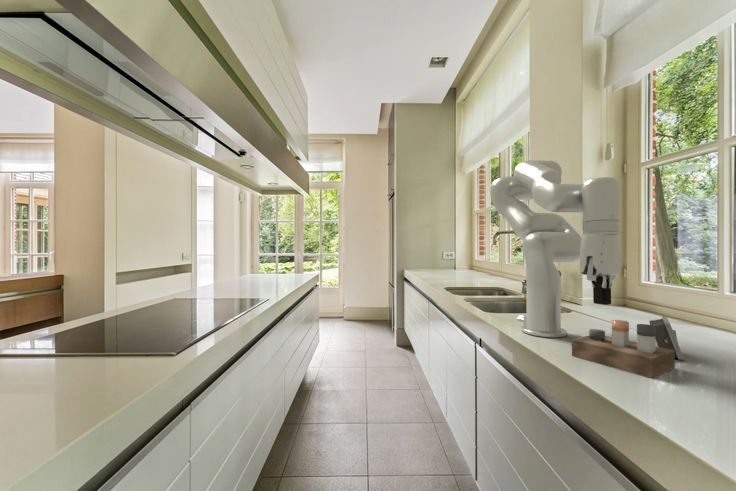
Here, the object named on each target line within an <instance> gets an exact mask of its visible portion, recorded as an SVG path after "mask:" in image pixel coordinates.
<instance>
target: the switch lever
mask: <svg viewBox="0 0 736 491" xmlns="http://www.w3.org/2000/svg"><path fill="white" fill-rule="evenodd" d="M588 330H589V331H588V334H589V335H588V336H589V339H590V340H595V341H599V342H602V341H605V336H606V331H605V330H602V329H599V328H597V329H596V328H589V329H588Z"/></svg>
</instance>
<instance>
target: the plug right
mask: <svg viewBox="0 0 736 491" xmlns="http://www.w3.org/2000/svg"><path fill="white" fill-rule="evenodd" d="M655 336H656V327H655V326H653V325H650V324H648V323H647V324H646V323H637V324H636V342H637V350H638V351H643V352H647V353H651V354H652V353H654V352H655V346H656V340H655Z"/></svg>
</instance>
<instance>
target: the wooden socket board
mask: <svg viewBox="0 0 736 491" xmlns="http://www.w3.org/2000/svg"><path fill="white" fill-rule="evenodd" d="M571 356H572V357H575V358H578V359H583V360H585V361H589V362H593V363H595V364H599V365H604V366H607V367H610V368H614V369H618V370H622V371H625V372H628V373H632V374H635V373H636V375H640V376H642V375H643V376H642V377H646V376H647V377H646V378H649V379H653V378H655V377H657V376H661V375H663V374H664V372H665V373H667V372H670V371H672V370H674V369H675V359H676V357H675V350H670V349H665V348H661V347H658V346H656V345H655V352H654V353H652V354H651V353H647V352H643V351H638V350H637V341H632V340H629V346H627V347H621V346H616V345H612V336H608V335H605V341H602V342H599V341H595V340H590V339H589V335H585V336H581V337H577V338H572V339H571ZM662 373H663V374H662Z"/></svg>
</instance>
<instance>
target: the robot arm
mask: <svg viewBox="0 0 736 491" xmlns="http://www.w3.org/2000/svg"><path fill="white" fill-rule="evenodd" d="M562 170H563V169H562V167H561V165H560V164H559V163H557V161H555V160H554V161H553V160H540V159H539V160H536V159H534V160H533V159H530V160H523V161H522V162H519V163H518V164H517V165H516V166H515V168H514V171H513V175H512V176H510V175H509V176H506V175H505V176H501V177H497V178H496V179H494V180H493V182H492V183H491V185H490V189H489V190H490V191H489V192H490V193H489V194H490V200H491V202H492V205H493V206H494V208H495V209H496V211H497V212H498V213H499V214H500V215H502V217H503V218H504V219H505V221H507V222H506V223H507V224H508V225H509V226H510V228H511V229H512V230H513V232H514V233H515V235H516V236H517V237H518V238H519V239H521V240H523V241H522V252H523V256H524V261H525V262H524V263H525V270H526V271H525V274H526V276H525V277H526V278H525V279H526V281H525V282H526V284H525V285H526V315H525V314H524V315H523V314H519V315H518V317H517V318H516V321H517V322H521V323H523V325H521V327H520V328H521V329H520V330H521V331H522V332H523V333H525V334H527V335H531V336H536V337H543V338H563V337H566V336H567V333H568V331H567V330H566V329H564V328H563V327H562V314H561V313H562V305H561V304H562V302H561V301H562V297H561V296H562V295H561V294H562V292H561V291H562V290H561V286H562V284H561V283H562V282H561V274H560V272H559V270H558V268H557V267H556V266H555V264H554V263H569V262H572V263H573V262H576V261H578V260H579V273H580V274H581V275H584V276H586V280H587V281H590V282H591V288H592V291H593V292H592V295H593V297H592V300H593V304H597V305H603V306H605V305H606V306H609V305H611V304H612V287H613V281H614V280H615V279H617V275H618V274H619V273H621V269H622V267H621V266H622V264H621V263H622V262H621V250H620V249H621V246H620V241H619V240H620V239H619V235H621V227H620V226H621V222H620V220H621V218H620V216H621V214H620V184H619V181H618V179H617V178H615V177H611V176H604V177H595V178H591V179H590V178H589V179H587V180H585V181H584V182H583V183H581V184H580V183H562V173H563V171H562ZM522 200H527V201H528V200H533V202H534V203H535V204H536V205H538V206H539V207H541V208H543V209H544V210H545V211H549V212H535V211H533V210H531V208H530V207H529V206H528V205H527V204H526V203H525V202H524V201H522ZM552 212H553V213H552ZM557 213H581V215H582V216H581V218H582V219H581V220H582V223H581V224H582V235H580V234H579V233H578V231H577V230H576V229H575V228H574V227H573V226H572V225H571V224H570V223H569V222H568V220H566V219H565V218H564V217H563V216H562V215H560V214H557Z"/></svg>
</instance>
